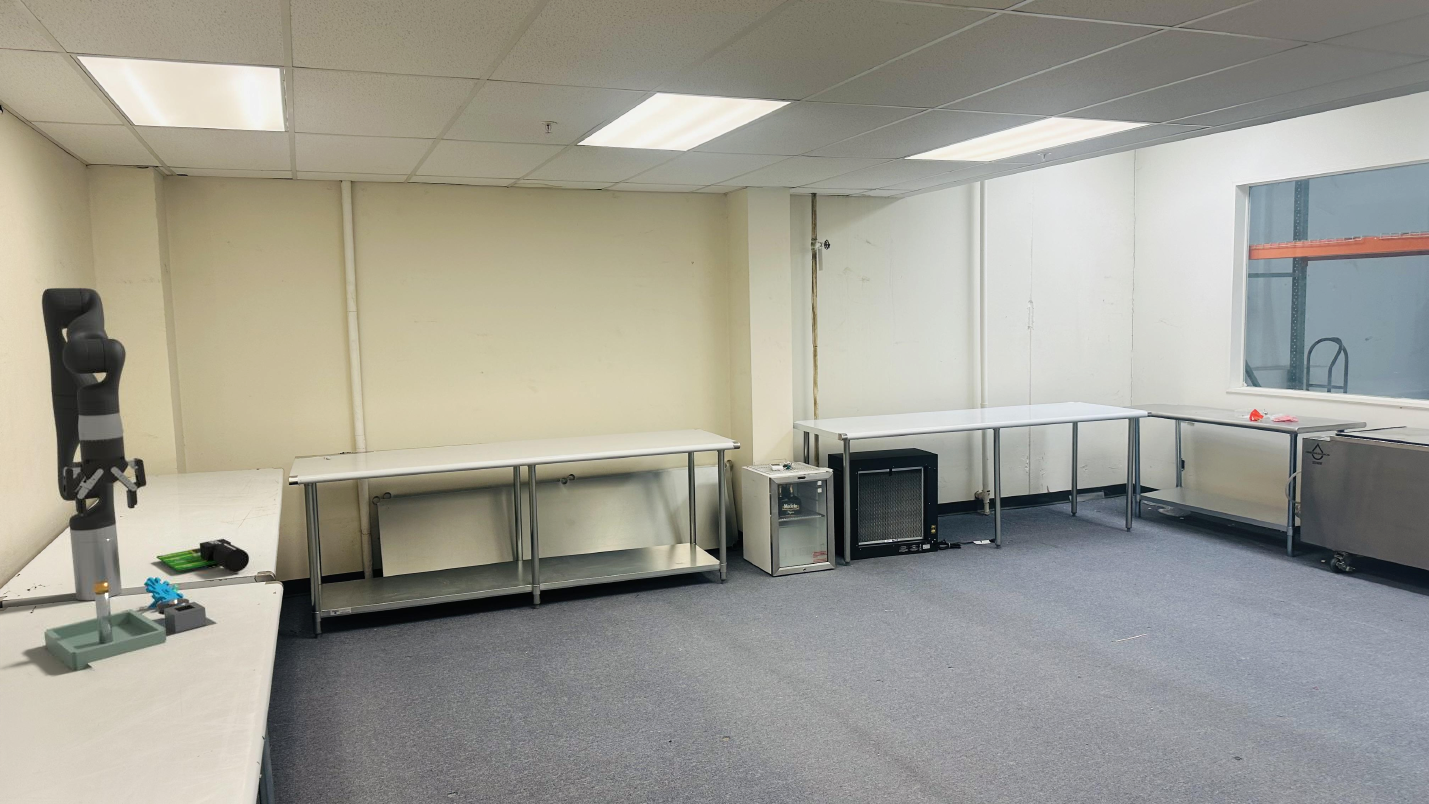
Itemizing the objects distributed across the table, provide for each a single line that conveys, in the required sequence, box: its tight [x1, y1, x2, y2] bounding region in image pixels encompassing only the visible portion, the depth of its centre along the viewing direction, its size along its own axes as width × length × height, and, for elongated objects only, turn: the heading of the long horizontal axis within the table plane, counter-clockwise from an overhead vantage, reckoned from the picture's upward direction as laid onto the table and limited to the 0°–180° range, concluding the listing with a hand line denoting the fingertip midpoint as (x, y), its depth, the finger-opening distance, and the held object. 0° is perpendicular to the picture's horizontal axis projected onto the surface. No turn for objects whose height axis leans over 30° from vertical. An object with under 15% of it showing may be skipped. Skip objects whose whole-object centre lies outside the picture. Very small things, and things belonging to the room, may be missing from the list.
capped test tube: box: [94, 581, 113, 644], centre depth 182 cm, size 2×2×12 cm
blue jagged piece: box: [143, 576, 185, 609], centre depth 206 cm, size 11×6×10 cm
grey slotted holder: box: [153, 598, 218, 638], centre depth 194 cm, size 13×10×6 cm
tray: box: [44, 609, 167, 671], centre depth 183 cm, size 20×16×4 cm
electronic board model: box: [156, 538, 250, 573], centre depth 240 cm, size 30×7×15 cm
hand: (107, 511), depth 185 cm, fingers open, 8 cm apart
